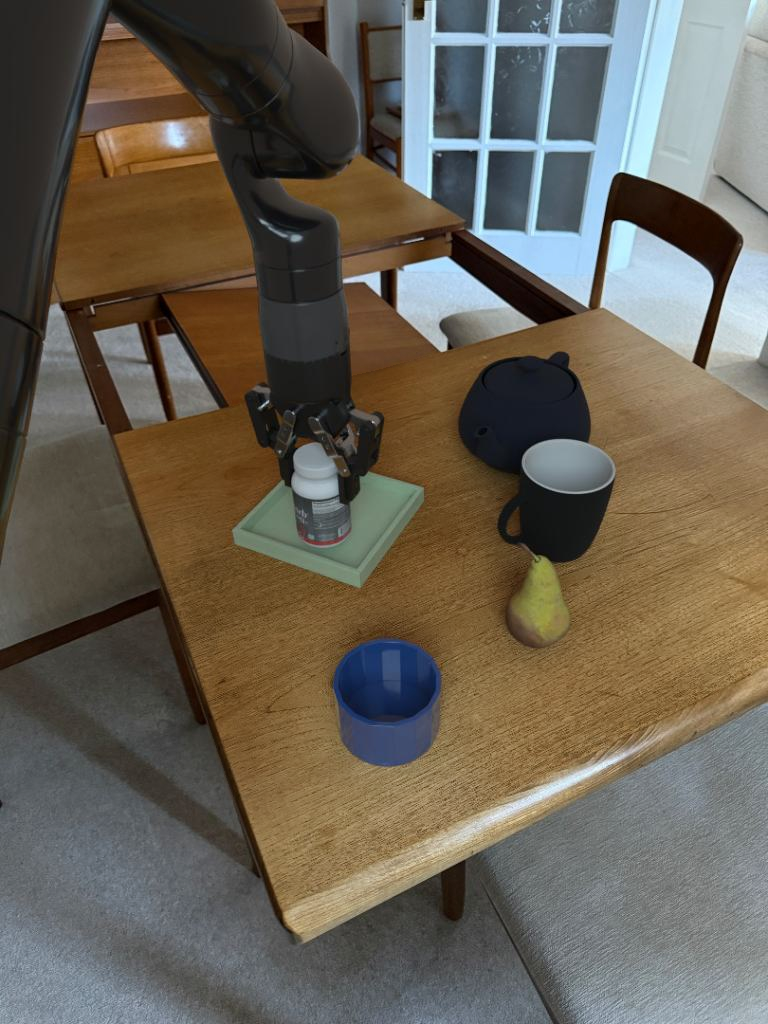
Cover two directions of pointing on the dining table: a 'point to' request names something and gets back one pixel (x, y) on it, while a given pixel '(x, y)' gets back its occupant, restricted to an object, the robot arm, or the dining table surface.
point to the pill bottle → (318, 499)
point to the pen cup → (387, 701)
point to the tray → (351, 562)
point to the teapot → (522, 409)
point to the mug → (560, 498)
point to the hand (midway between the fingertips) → (320, 490)
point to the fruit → (538, 606)
